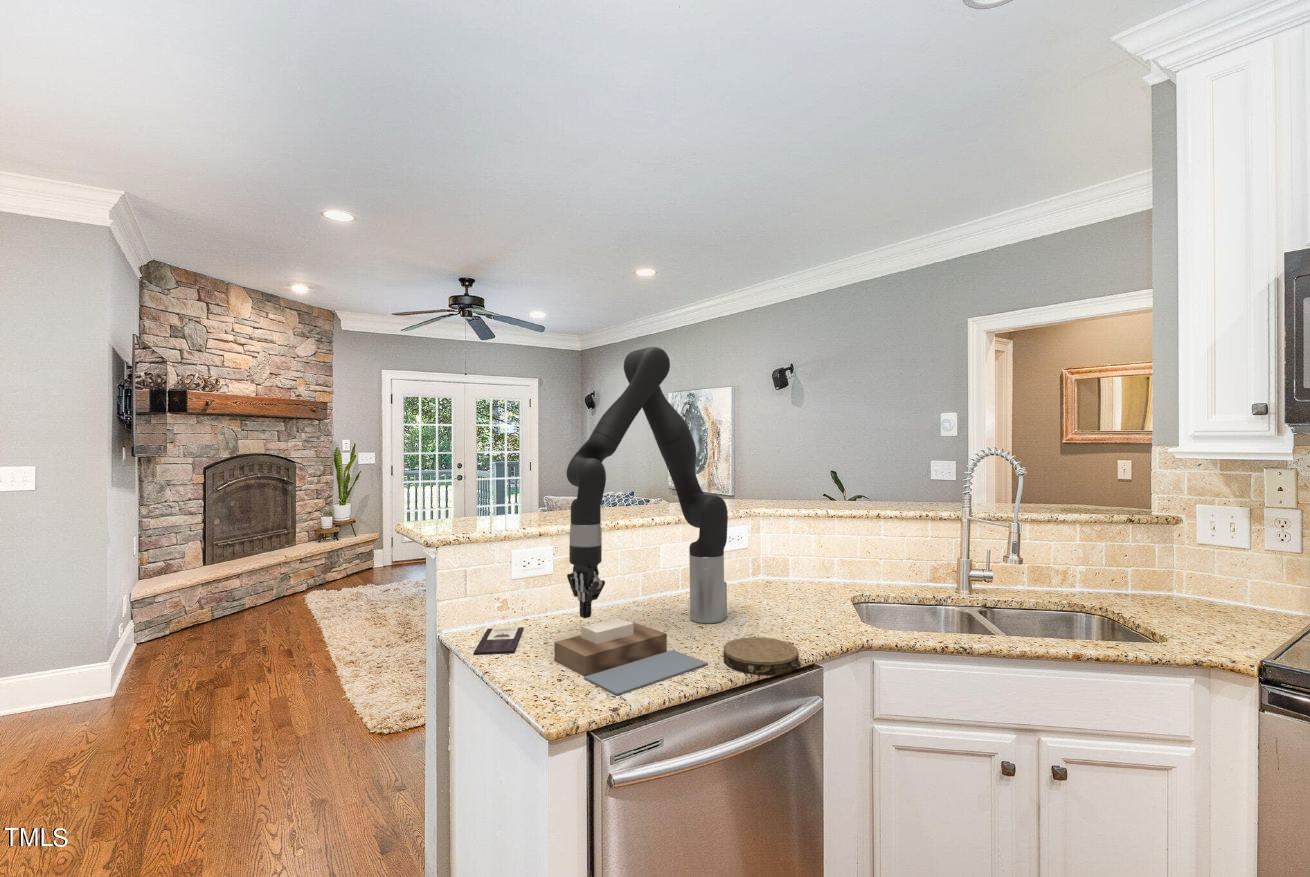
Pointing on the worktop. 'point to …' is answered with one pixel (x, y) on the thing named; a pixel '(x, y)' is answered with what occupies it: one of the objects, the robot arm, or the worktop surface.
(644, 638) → the board
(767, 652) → the brown round disc
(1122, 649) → the worktop surface
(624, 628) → the tile
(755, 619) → the worktop surface
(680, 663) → the mat
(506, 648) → the chocolate bar
